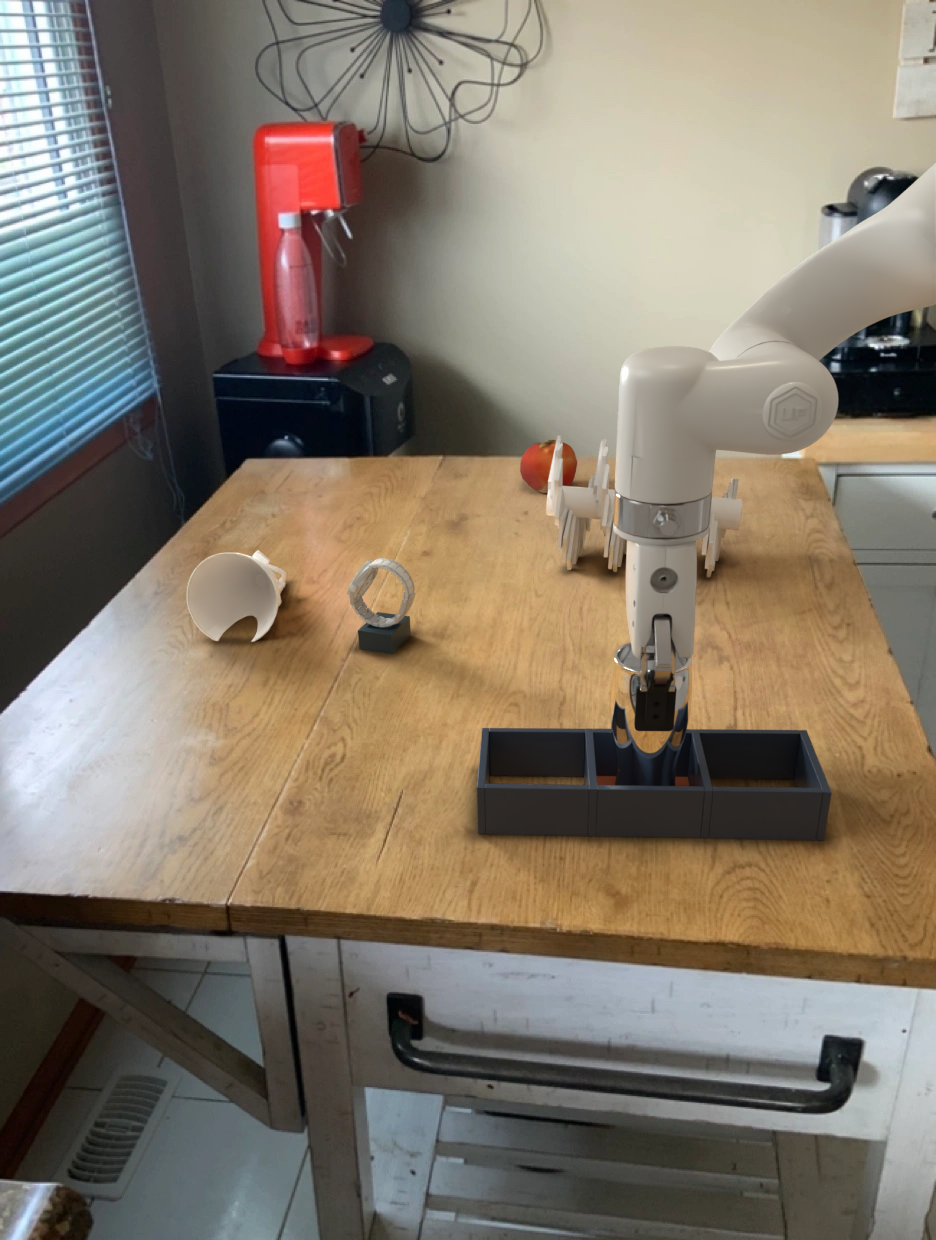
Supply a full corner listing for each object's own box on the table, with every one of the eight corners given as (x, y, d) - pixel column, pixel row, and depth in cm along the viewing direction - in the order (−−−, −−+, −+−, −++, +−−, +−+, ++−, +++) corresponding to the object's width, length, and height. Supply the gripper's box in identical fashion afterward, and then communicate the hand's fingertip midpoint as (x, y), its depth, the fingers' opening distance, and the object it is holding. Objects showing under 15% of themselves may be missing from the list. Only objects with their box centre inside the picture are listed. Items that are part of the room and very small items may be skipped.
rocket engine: (264, 513, 152) (222, 532, 135) (329, 569, 153) (296, 595, 136) (214, 577, 156) (168, 603, 139) (278, 632, 156) (240, 664, 139)
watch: (364, 632, 140) (358, 549, 135) (424, 641, 137) (420, 556, 132) (344, 652, 136) (337, 566, 130) (405, 661, 133) (400, 574, 127)
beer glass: (654, 774, 107) (664, 631, 100) (698, 811, 101) (712, 662, 94) (591, 793, 105) (595, 648, 98) (632, 832, 99) (640, 681, 92)
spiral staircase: (727, 612, 149) (538, 594, 154) (734, 516, 158) (556, 502, 163) (747, 513, 134) (537, 497, 139) (754, 413, 143) (557, 402, 149)
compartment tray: (799, 780, 106) (806, 729, 104) (823, 846, 97) (832, 792, 95) (482, 777, 110) (481, 727, 107) (477, 839, 101) (476, 787, 98)
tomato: (581, 496, 180) (582, 447, 176) (523, 500, 180) (523, 450, 176) (572, 478, 188) (573, 431, 184) (517, 482, 188) (516, 434, 184)
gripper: (725, 551, 82) (706, 758, 90) (696, 476, 97) (682, 660, 105) (620, 552, 82) (611, 757, 91) (608, 478, 97) (601, 660, 106)
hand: (649, 704), depth 98 cm, fingers open, 7 cm apart
